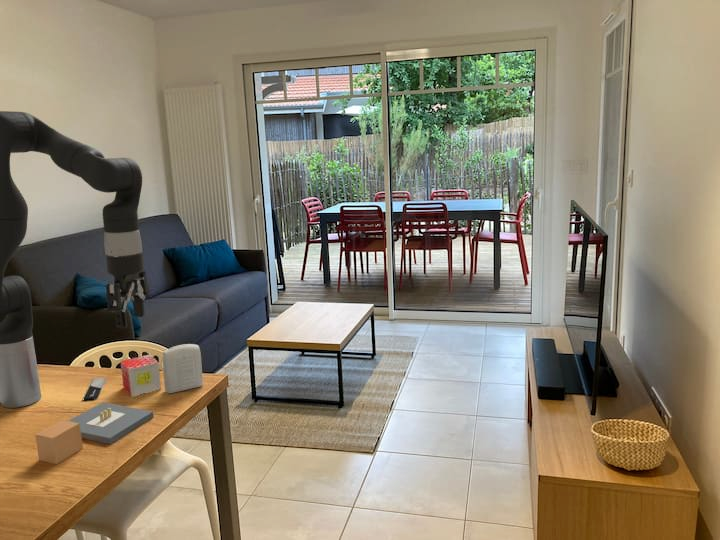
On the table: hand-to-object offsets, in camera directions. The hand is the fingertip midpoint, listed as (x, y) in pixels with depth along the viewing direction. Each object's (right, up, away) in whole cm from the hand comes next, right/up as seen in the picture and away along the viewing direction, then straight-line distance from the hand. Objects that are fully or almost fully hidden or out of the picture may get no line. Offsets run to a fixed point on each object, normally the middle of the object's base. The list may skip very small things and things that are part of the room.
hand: (131, 322), depth 132 cm
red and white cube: (-8, -21, +30) cm, 37 cm away
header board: (-9, -25, +9) cm, 28 cm away
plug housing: (-14, -28, -4) cm, 32 cm away
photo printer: (+3, -21, +29) cm, 36 cm away
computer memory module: (-21, -22, +30) cm, 42 cm away
